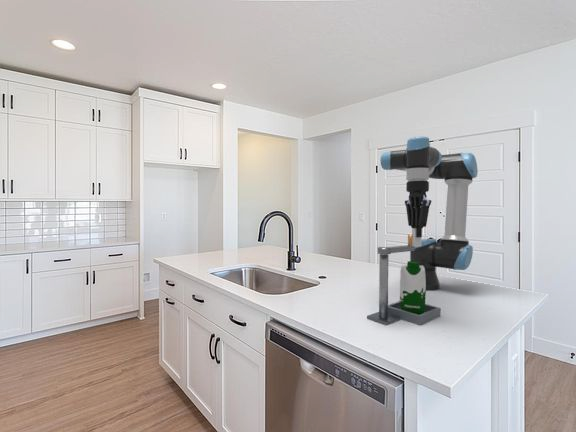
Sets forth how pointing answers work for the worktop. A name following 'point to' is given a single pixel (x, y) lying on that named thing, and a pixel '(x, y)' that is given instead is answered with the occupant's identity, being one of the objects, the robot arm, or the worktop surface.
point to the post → (383, 295)
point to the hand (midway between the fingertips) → (416, 246)
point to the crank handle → (397, 248)
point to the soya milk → (413, 288)
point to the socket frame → (428, 314)
